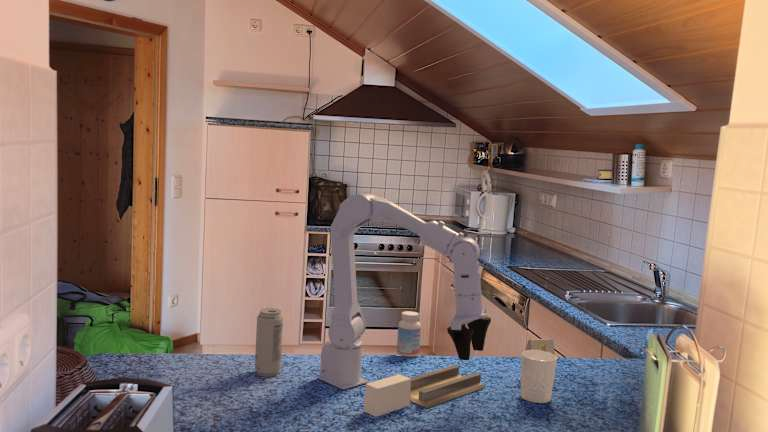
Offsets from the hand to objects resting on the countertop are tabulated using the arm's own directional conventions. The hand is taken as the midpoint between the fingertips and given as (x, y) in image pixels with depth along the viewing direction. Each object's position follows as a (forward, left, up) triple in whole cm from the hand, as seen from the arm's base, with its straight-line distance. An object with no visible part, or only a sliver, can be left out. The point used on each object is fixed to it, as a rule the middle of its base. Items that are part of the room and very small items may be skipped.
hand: (471, 354), depth 143 cm
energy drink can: (-40, -26, -11) cm, 48 cm away
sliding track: (-8, -1, -11) cm, 13 cm away
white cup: (+8, +14, -11) cm, 20 cm away
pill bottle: (-31, +13, -11) cm, 35 cm away
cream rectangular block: (-8, -18, -11) cm, 22 cm away
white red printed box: (+1, +26, -11) cm, 29 cm away
